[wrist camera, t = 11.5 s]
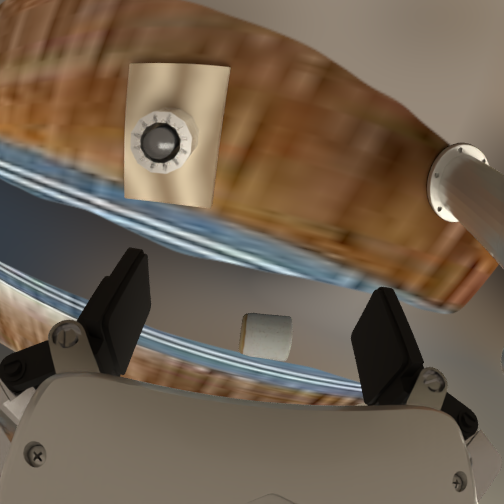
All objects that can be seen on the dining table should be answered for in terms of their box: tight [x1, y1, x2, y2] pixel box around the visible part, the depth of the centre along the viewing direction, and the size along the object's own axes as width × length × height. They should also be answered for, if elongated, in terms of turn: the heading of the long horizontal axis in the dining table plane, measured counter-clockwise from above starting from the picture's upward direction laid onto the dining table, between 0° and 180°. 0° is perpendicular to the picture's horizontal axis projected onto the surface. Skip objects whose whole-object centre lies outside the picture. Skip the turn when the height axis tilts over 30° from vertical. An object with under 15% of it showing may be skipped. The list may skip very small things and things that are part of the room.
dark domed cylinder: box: [143, 123, 181, 159], centre depth 31 cm, size 3×3×4 cm
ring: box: [130, 107, 199, 174], centre depth 31 cm, size 7×7×4 cm
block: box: [124, 63, 231, 209], centre depth 33 cm, size 12×18×2 cm, turn 171°
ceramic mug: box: [239, 313, 293, 361], centre depth 49 cm, size 11×8×8 cm
